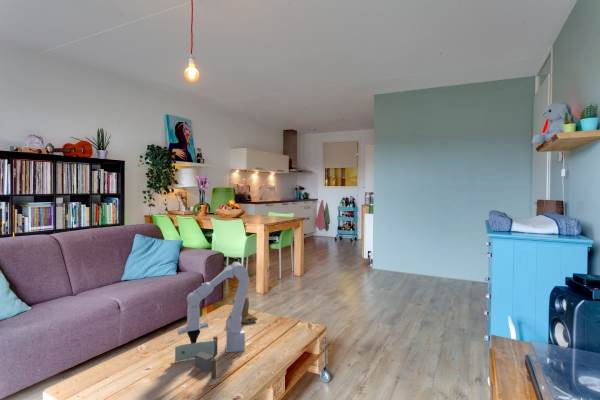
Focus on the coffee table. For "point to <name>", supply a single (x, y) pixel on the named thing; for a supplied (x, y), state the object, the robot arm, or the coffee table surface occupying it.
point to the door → (194, 349)
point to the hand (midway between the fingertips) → (193, 345)
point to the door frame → (214, 362)
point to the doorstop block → (203, 361)
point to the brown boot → (246, 312)
